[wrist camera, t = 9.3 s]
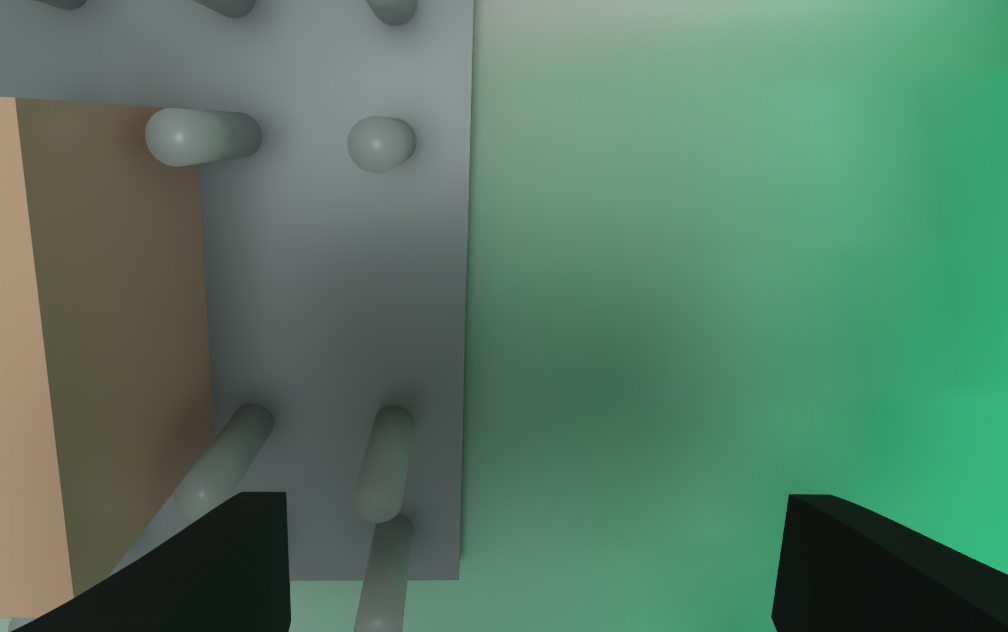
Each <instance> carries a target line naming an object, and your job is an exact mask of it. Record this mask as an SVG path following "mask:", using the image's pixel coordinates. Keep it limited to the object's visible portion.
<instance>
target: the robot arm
mask: <svg viewBox="0 0 1008 632" xmlns="http://www.w3.org/2000/svg"><path fill="white" fill-rule="evenodd" d="M771 618H772V620H773V623H774V625H775V627H776V630H777V632H1008V575H1007V574H1005V573H1003V572H1001V571H998V570H996V569H994V568H992V567H990V566H988V565H985V564H983V563H981V562H979V561H977V560H975V559H972V558H970V557H968V556H966V555H964V554H962V553H960V552H958V551H956V550H953V549H951V548H949V547H947V546H945V545H943V544H941V543H939V542H937V541H935V540H932V539H930V538H928V537H926V536H924V535H922V534H920V533H918V532H916V531H914V530H912V529H910V528H907V527H905V526H903V525H901V524H899V523H897V522H895V521H893V520H891V519H888V518H886V517H884V516H882V515H880V514H878V513H875V512H873V511H871V510H869V509H866V508H864V507H862V506H860V505H857V504H855V503H852V502H850V501H847V500H844V499H842V498H839V497H836V496H833V495H806V494H789V498H788V505H787V512H786V519H785V526H784V533H783V540H782V547H781V554H780V560H779V567H778V574H777V581H776V588H775V595H774V602H773V609H772V616H771ZM290 623H291V605H290V579H289V553H288V526H287V500H286V492H240V493H238V494H236V495H234V496H233V497H231V498H229V499H228V500H226V501H225V502H223V503H222V504H220V505H218V506H217V507H215V508H214V509H212V510H211V511H209V512H208V513H207V514H205V515H204V516H202V517H201V518H199V519H198V520H196V521H195V522H193V523H192V524H190V525H189V526H187V527H186V528H184V529H183V530H181V531H180V532H178V533H177V534H175V535H174V536H172V537H171V538H169V539H168V540H166V541H165V542H163V543H162V544H160V545H159V546H157V547H156V548H154V549H153V550H151V551H150V552H148V553H147V554H145V555H144V556H142V557H141V558H139V559H138V560H136V561H134V562H133V563H131V564H129V565H128V566H126V567H124V568H123V569H121V570H119V571H118V572H116V573H115V574H113V575H111V576H110V577H108V578H106V579H105V580H103V581H101V582H100V583H98V584H96V585H95V586H93V587H91V588H90V589H88V590H86V591H85V592H83V593H81V594H80V595H78V596H77V597H75V598H73V599H71V600H70V601H68V602H66V603H64V604H62V605H61V606H59V607H57V608H55V609H53V610H52V611H50V612H48V613H46V614H44V615H42V616H40V617H38V618H37V619H35V620H33V621H31V622H29V623H27V624H25V625H23V626H21V627H19V628H17V629H15V630H13V631H11V632H289V627H290Z"/></svg>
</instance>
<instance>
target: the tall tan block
mask: <svg viewBox="0 0 1008 632" xmlns="http://www.w3.org/2000/svg"><path fill="white" fill-rule="evenodd" d="M163 109H167V108H166V107H151V106H136V105H121V104H106V103H91V102H76V101H61V100H45V99H30V98H15V97H0V618H38V617H40V616H42V615H44V614H46V613H48V612H50V611H52V610H53V609H55V608H57V607H59V606H61V605H62V604H64V603H66V602H68V601H70V600H71V599H73V598H75V597H77V596H78V595H80V594H81V593H83V592H85V591H86V590H88V589H90V588H91V587H93V586H95V585H96V584H98V583H100V582H101V581H103V580H105V579H106V578H107V577H108V576H109V574H110V573H111V572H112V571H113V569H114V568H115V567H116V565H117V564H118V563H119V562H120V560H121V559H122V558H123V556H124V555H125V554H126V553H127V551H128V550H129V549H130V547H131V546H132V545H133V544H134V542H135V541H136V540H137V538H138V537H139V536H140V535H141V533H142V532H143V531H144V529H145V528H146V527H147V526H148V524H149V523H150V522H151V520H152V519H153V518H154V517H155V515H156V514H157V513H158V511H159V510H160V509H161V508H162V506H163V505H164V504H165V502H166V501H167V500H168V499H169V497H170V496H171V495H172V493H173V492H174V491H175V490H176V488H177V486H178V485H179V484H180V483H181V481H182V480H183V479H184V477H185V476H186V475H187V474H188V472H189V471H190V470H191V468H192V467H193V466H194V465H195V463H196V462H197V461H198V459H199V458H200V457H201V456H202V454H203V453H204V452H205V450H206V449H207V448H208V447H209V445H210V444H211V443H212V441H213V440H214V439H215V438H214V422H213V405H212V389H211V373H210V356H209V340H208V324H207V307H206V291H205V275H204V259H203V242H202V226H201V210H200V193H199V177H198V164H194V165H187V166H180V167H175V166H169V165H166V164H164V163H162V162H160V161H159V160H158V159H156V158H155V157H154V156H153V155H152V153H151V152H150V150H149V148H148V146H147V144H146V140H145V129H146V125H147V123H148V121H149V119H150V118H151V117H152V116H153V115H154V114H155V113H156V112H158V111H160V110H163ZM179 109H182V108H179Z"/></svg>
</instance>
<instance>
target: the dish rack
mask: <svg viewBox="0 0 1008 632" xmlns="http://www.w3.org/2000/svg"><path fill="white" fill-rule="evenodd" d="M473 7H474V0H0V97H15V98H30V99H45V100H61V101H76V102H91V103H106V104H121V105H136V106H151V107H166V108H167V109H163V110H160V111H158V112H156V113H155V114H154V115H153V116H152V117H151V118H150V119H149V121H148V123H147V125H146V129H145V140H146V144H147V146H148V148H149V150H150V152H151V153H152V155H153V156H154V157H155V158H156V159H158V160H159V161H160V162H162V163H164V164H166V165H169V166H175V167H180V166H187V165H194V164H198V177H199V193H200V210H201V226H202V242H203V259H204V275H205V291H206V307H207V324H208V340H209V356H210V373H211V389H212V405H213V422H214V438H215V439H214V440H213V441H212V443H211V444H210V445H209V447H208V448H207V449H206V450H205V452H204V453H203V454H202V456H201V457H200V458H199V459H198V461H197V462H196V463H195V465H194V466H193V467H192V468H191V470H190V471H189V472H188V474H187V475H186V476H185V477H184V479H183V480H182V481H181V483H180V484H179V485H178V486H177V488H176V490H175V491H174V492H173V493H172V495H171V496H170V497H169V499H168V500H167V501H166V502H165V504H164V505H163V506H162V508H161V509H160V510H159V511H158V513H157V514H156V515H155V517H154V518H153V519H152V520H151V522H150V523H149V524H148V526H147V527H146V528H145V529H144V531H143V532H142V533H141V535H140V536H139V537H138V538H137V540H136V541H135V542H134V544H133V545H132V546H131V547H130V549H129V550H128V551H127V553H126V554H125V555H124V556H123V558H122V559H121V560H120V562H119V563H118V564H117V565H116V567H115V568H114V569H113V571H112V572H111V573H110V574H109V576H108V577H110V576H111V575H113V574H115V573H116V572H118V571H119V570H121V569H123V568H124V567H126V566H128V565H129V564H131V563H133V562H134V561H136V560H138V559H139V558H141V557H142V556H144V555H145V554H147V553H148V552H150V551H151V550H153V549H154V548H156V547H157V546H159V545H160V544H162V543H163V542H165V541H166V540H168V539H169V538H171V537H172V536H174V535H175V534H177V533H178V532H180V531H181V530H183V529H184V528H186V527H187V526H189V525H190V524H192V523H193V522H195V521H196V520H198V519H199V518H201V517H202V516H204V515H205V514H207V513H208V512H209V511H211V510H212V509H214V508H215V507H217V506H218V505H220V504H222V503H223V502H225V501H226V500H228V499H229V498H231V497H233V496H234V495H236V494H238V493H240V492H286V500H287V526H288V553H289V579H290V580H364V583H363V587H362V592H361V597H360V602H359V607H358V612H357V616H356V621H355V626H354V632H402V624H403V615H404V606H405V597H406V588H407V580H459V559H460V520H461V480H462V441H463V402H464V362H465V323H466V283H467V244H468V204H469V165H470V125H471V86H472V47H473ZM179 108H182V109H179ZM108 577H107V578H108ZM35 619H37V618H13V619H12V620H11V621H10V624H9V629H8V630H9V632H11V631H13V630H15V629H17V628H19V627H21V626H23V625H25V624H27V623H29V622H31V621H33V620H35Z"/></svg>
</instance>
